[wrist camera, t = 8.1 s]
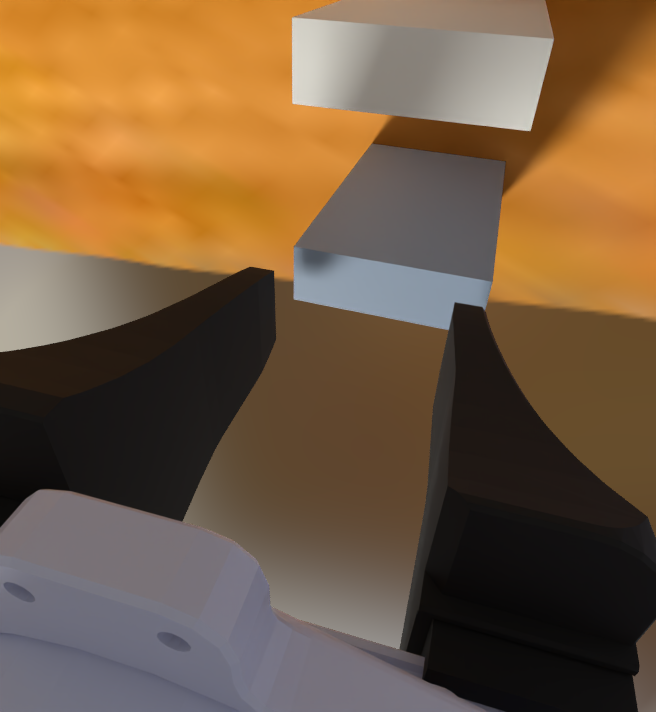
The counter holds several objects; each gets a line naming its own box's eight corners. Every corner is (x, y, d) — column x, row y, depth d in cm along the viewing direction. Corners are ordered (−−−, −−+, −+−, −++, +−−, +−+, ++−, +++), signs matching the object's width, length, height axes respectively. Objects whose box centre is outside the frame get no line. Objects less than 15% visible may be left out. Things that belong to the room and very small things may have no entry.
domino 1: (530, 55, 18) (530, 131, 11) (379, 41, 19) (292, 104, 12) (544, -4, 17) (554, 38, 10) (384, -15, 18) (292, 17, 11)
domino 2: (495, 203, 21) (477, 335, 14) (368, 184, 22) (294, 299, 15) (505, 161, 20) (492, 281, 13) (371, 143, 21) (294, 246, 14)
